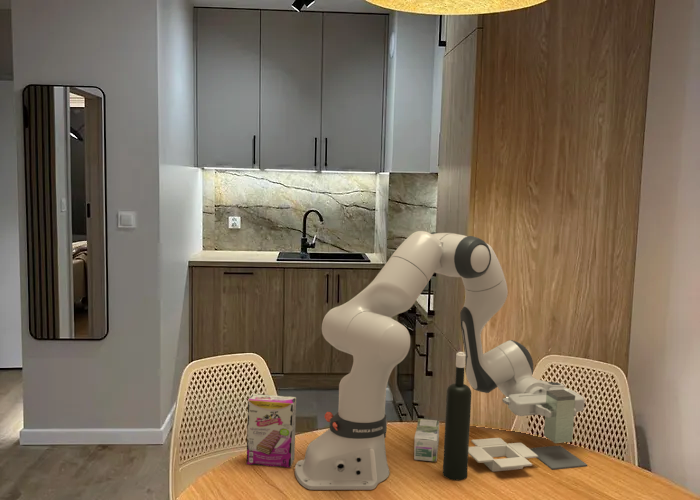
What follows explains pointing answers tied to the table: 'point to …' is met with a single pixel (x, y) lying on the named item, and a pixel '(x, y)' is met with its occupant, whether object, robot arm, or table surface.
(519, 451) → the carton
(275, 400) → the candy bar box
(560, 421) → the tea tin
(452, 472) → the wine bottle
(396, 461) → the table surface
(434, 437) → the syrup box
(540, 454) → the mat
